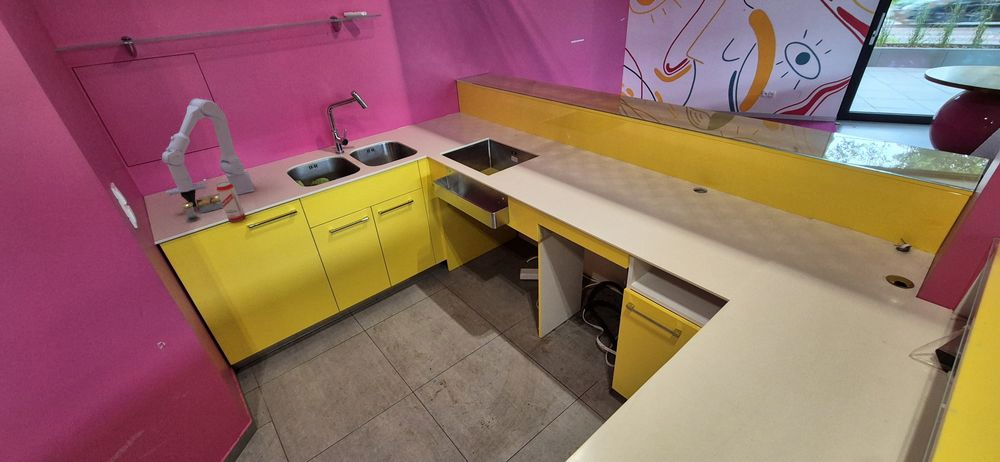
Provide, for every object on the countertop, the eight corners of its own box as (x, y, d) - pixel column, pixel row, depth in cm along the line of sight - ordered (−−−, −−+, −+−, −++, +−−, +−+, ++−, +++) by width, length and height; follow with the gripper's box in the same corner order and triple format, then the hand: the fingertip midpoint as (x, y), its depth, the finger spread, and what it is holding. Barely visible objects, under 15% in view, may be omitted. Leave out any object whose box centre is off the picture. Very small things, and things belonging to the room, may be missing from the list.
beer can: (233, 216, 179) (219, 181, 171) (248, 215, 180) (235, 180, 172) (226, 223, 174) (211, 187, 166) (241, 221, 174) (227, 186, 166)
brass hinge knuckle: (225, 200, 193) (222, 192, 191) (225, 207, 187) (222, 199, 185) (200, 206, 189) (196, 198, 187) (199, 213, 183) (196, 204, 181)
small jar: (200, 215, 180) (193, 201, 177) (197, 219, 177) (190, 205, 173) (189, 217, 179) (182, 203, 176) (186, 221, 176) (179, 207, 172)
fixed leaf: (225, 196, 198) (221, 188, 196) (225, 204, 190) (222, 195, 188) (200, 201, 193) (196, 193, 191) (200, 210, 186) (196, 201, 184)
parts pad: (198, 216, 181) (198, 215, 180) (198, 220, 177) (198, 219, 177) (186, 218, 179) (186, 218, 178) (186, 223, 175) (185, 222, 175)
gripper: (201, 171, 185) (213, 199, 192) (162, 179, 179) (175, 207, 186) (201, 176, 180) (213, 204, 187) (160, 184, 174) (174, 213, 180)
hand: (194, 206), depth 186 cm, fingers closed
